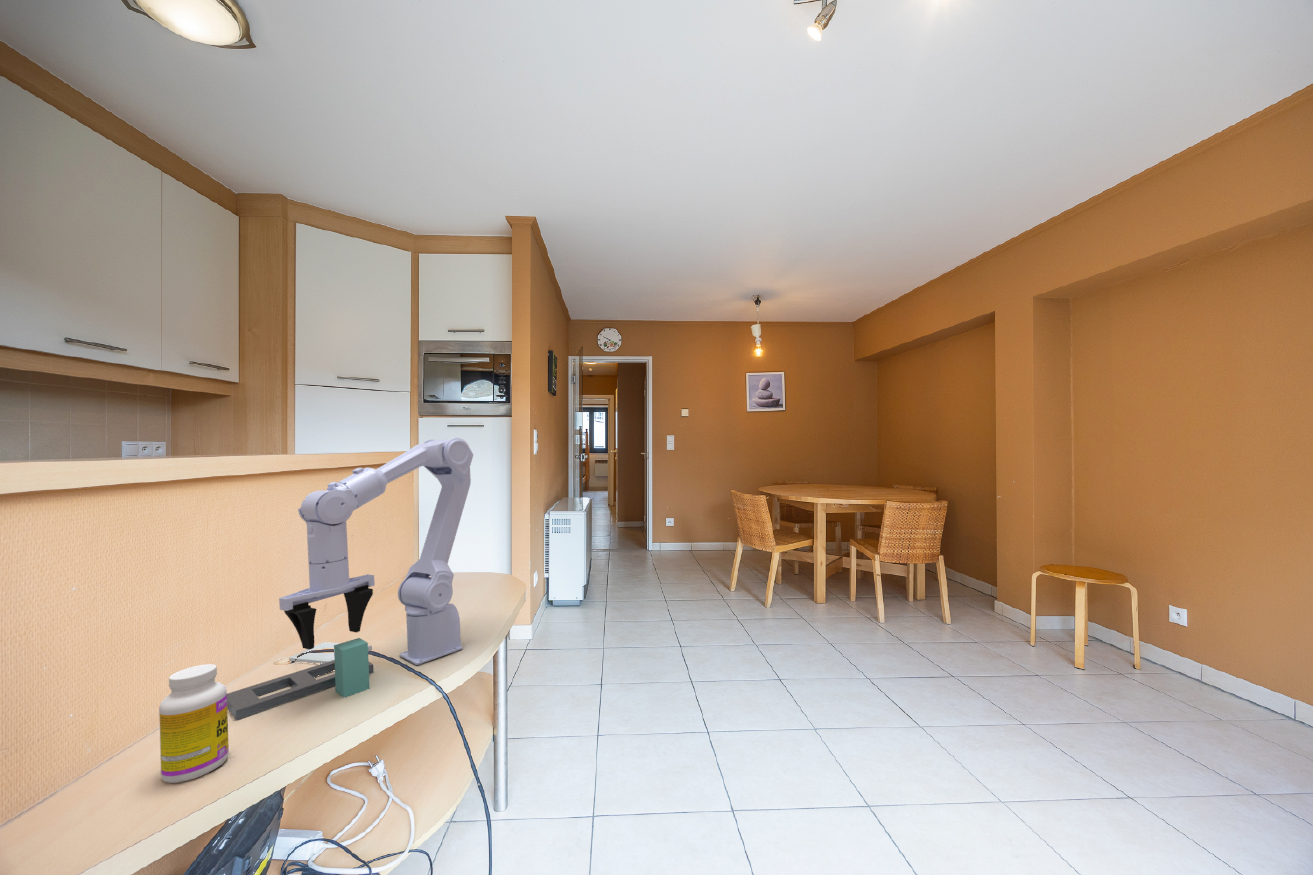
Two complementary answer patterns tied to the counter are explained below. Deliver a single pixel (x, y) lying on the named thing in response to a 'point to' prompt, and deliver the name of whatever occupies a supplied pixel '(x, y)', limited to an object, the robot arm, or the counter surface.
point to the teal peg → (351, 667)
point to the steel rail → (301, 683)
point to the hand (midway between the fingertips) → (332, 639)
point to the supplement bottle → (193, 724)
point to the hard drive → (317, 654)
